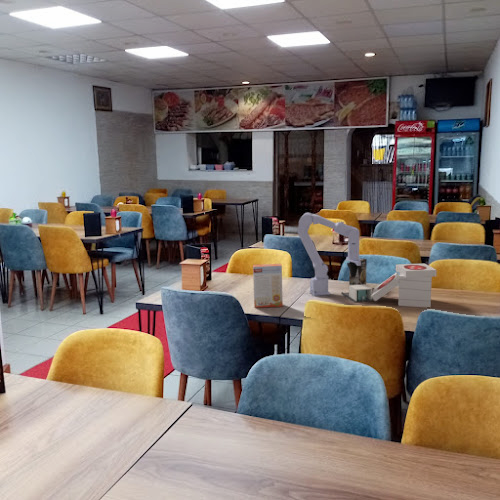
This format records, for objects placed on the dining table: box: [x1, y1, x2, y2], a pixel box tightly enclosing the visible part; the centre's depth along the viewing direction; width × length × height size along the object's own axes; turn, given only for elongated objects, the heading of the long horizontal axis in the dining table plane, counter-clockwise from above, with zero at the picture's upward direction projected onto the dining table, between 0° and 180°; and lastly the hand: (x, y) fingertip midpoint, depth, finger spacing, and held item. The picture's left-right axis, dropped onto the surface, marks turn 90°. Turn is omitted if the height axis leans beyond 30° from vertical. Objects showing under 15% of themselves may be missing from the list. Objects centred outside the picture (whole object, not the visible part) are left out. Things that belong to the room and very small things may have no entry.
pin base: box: [340, 291, 374, 303], centre depth 270 cm, size 10×17×2 cm, turn 12°
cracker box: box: [252, 263, 284, 309], centre depth 256 cm, size 14×6×21 cm, turn 92°
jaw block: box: [357, 290, 366, 300], centre depth 265 cm, size 4×4×5 cm
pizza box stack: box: [371, 263, 437, 308], centre depth 258 cm, size 19×30×18 cm, turn 72°
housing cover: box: [348, 283, 373, 301], centre depth 265 cm, size 9×8×6 cm
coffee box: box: [348, 257, 368, 285], centre depth 286 cm, size 9×6×16 cm
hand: (353, 276), depth 273 cm, fingers closed
